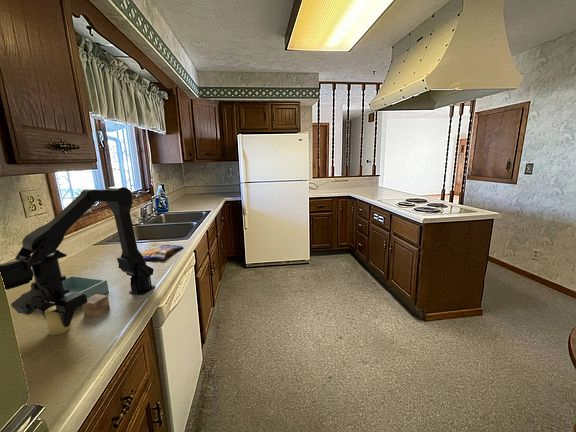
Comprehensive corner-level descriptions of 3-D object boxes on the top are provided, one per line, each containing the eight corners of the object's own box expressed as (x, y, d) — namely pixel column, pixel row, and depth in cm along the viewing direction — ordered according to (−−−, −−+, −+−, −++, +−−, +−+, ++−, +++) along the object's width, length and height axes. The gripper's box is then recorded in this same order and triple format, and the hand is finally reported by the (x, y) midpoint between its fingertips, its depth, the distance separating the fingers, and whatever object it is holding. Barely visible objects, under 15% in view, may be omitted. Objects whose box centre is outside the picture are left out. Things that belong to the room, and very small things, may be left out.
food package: (126, 263, 133) (125, 254, 132) (157, 246, 157) (156, 239, 156) (168, 264, 129) (167, 256, 128) (193, 247, 154) (192, 240, 153)
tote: (74, 287, 107) (72, 275, 106) (108, 292, 102) (106, 280, 101) (36, 304, 95) (33, 291, 93) (73, 311, 90) (70, 297, 89)
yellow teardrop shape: (63, 323, 83) (58, 303, 82) (75, 326, 82) (70, 305, 80) (45, 333, 79) (39, 312, 77) (57, 336, 77) (52, 314, 76)
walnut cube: (98, 307, 92) (95, 294, 91) (110, 309, 91) (107, 295, 90) (84, 315, 87) (81, 301, 86) (96, 317, 86) (93, 303, 85)
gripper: (-11, 285, 71) (4, 337, 75) (39, 293, 66) (53, 349, 70) (37, 268, 82) (48, 315, 85) (83, 274, 77) (93, 323, 80)
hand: (59, 325), depth 80 cm, fingers open, 6 cm apart
